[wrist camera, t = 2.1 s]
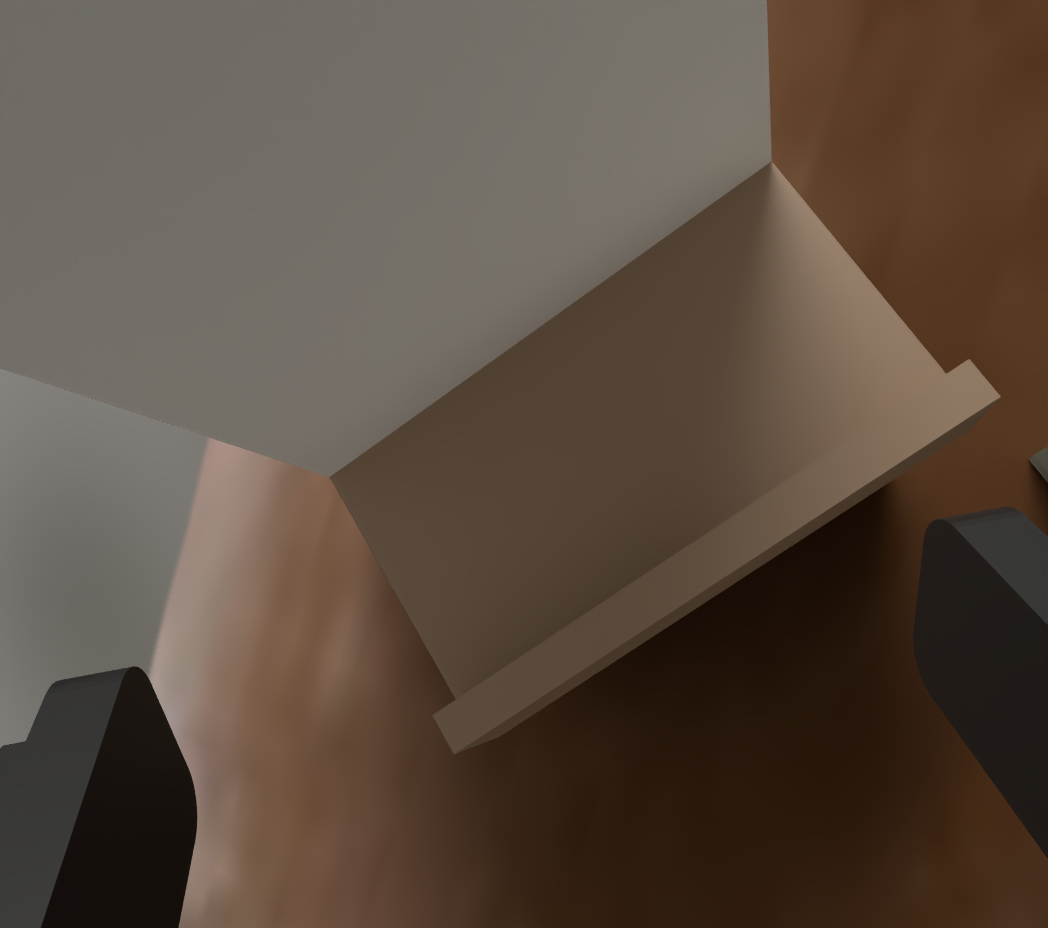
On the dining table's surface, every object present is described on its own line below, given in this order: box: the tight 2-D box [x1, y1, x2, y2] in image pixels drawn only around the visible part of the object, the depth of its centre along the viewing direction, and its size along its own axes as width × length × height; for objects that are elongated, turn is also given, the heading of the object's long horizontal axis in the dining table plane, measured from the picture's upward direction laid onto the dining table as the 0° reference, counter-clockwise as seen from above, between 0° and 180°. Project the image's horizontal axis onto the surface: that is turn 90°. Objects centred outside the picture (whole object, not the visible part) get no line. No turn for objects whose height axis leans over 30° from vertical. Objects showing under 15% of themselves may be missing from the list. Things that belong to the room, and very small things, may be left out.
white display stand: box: [0, 0, 1001, 754], centre depth 18 cm, size 10×14×26 cm
